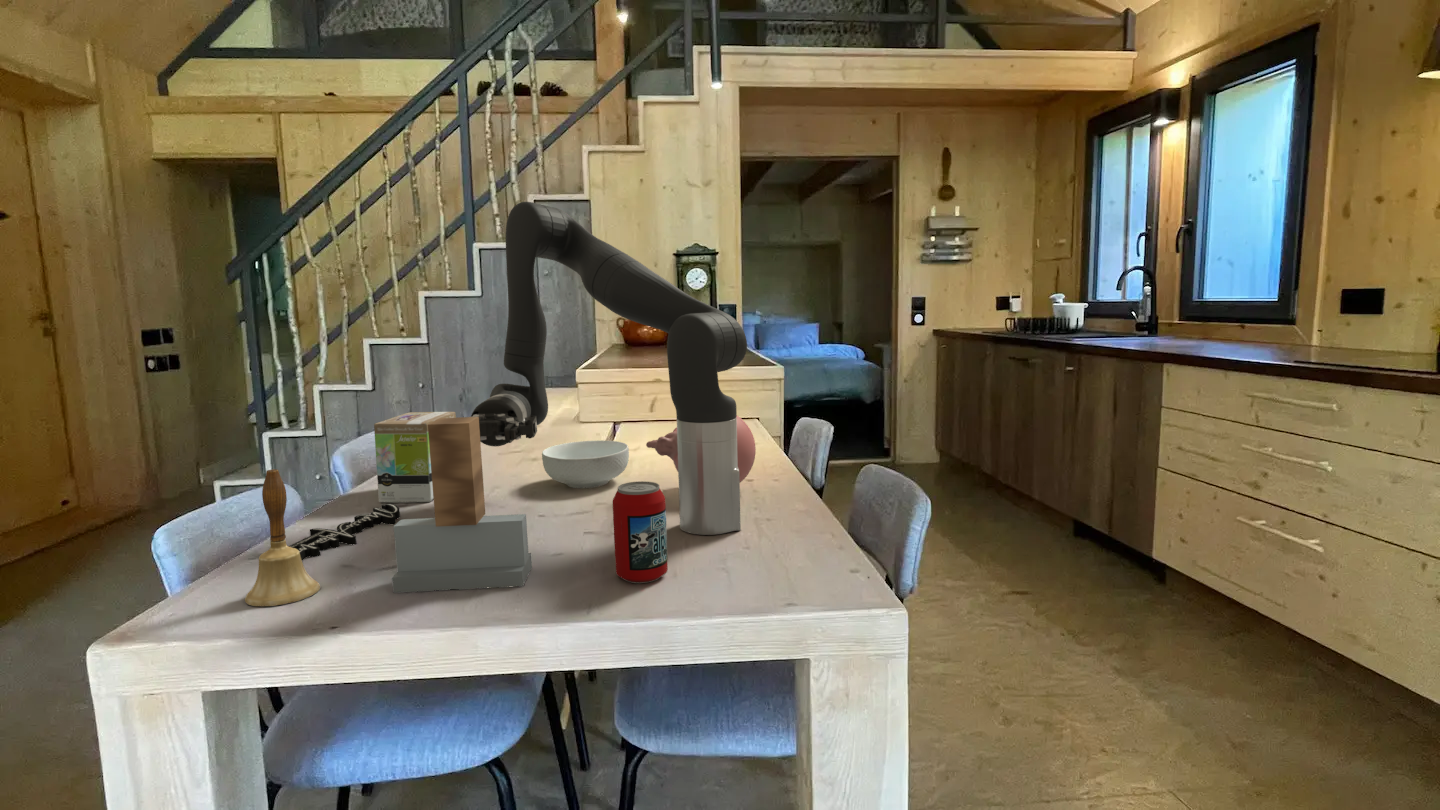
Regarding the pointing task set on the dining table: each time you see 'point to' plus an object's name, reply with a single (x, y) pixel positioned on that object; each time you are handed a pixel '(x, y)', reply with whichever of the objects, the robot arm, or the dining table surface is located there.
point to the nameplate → (345, 531)
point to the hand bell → (279, 556)
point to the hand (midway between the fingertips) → (476, 437)
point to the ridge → (461, 554)
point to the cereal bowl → (585, 462)
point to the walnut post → (456, 471)
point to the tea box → (405, 457)
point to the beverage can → (640, 532)
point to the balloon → (744, 447)
